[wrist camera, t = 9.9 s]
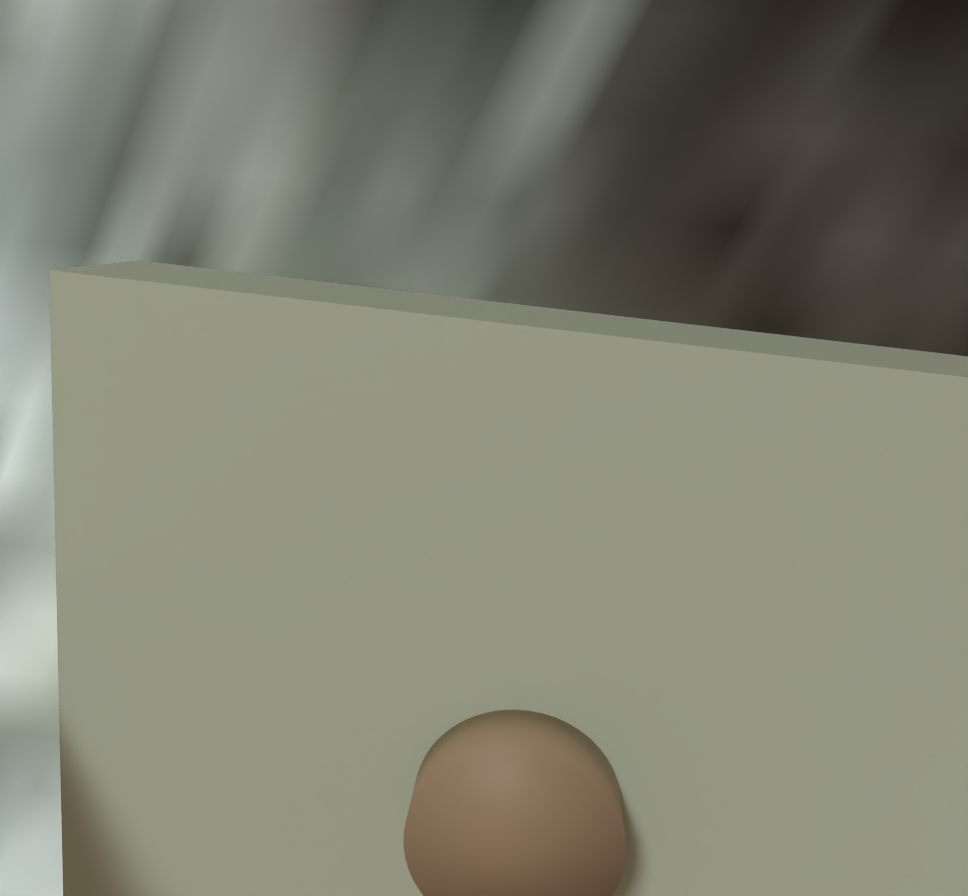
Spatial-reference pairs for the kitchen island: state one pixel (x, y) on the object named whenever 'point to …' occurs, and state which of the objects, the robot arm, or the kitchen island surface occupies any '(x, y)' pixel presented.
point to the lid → (499, 598)
